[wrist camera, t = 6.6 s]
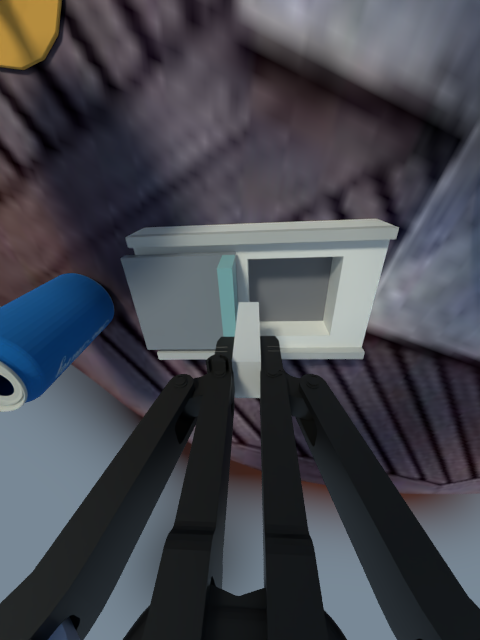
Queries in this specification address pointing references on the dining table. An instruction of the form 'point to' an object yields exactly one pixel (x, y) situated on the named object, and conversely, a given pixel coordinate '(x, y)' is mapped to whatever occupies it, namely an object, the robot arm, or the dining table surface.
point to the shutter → (184, 298)
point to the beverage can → (48, 334)
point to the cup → (27, 31)
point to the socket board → (292, 278)
